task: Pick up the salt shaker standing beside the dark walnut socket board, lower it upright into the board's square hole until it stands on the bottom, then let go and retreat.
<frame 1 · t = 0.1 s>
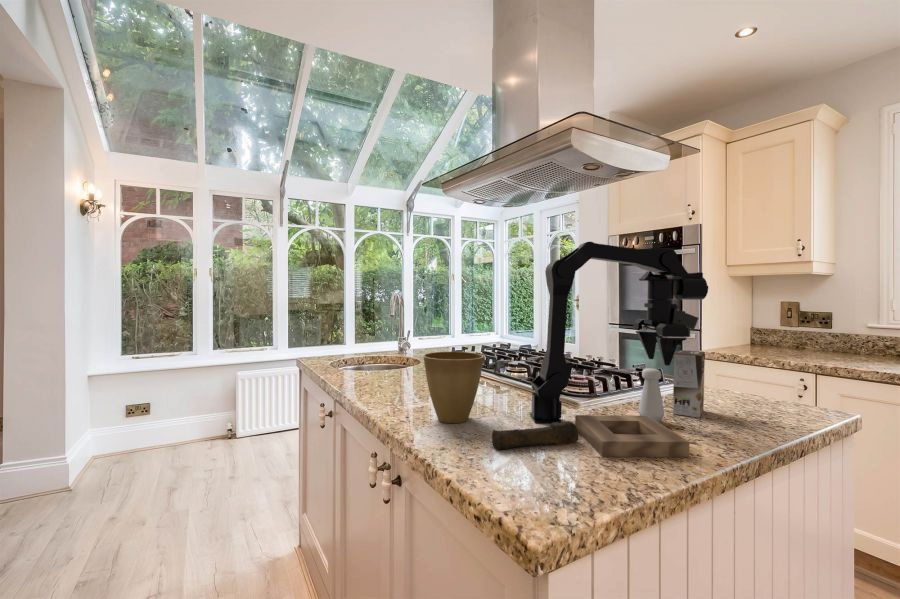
hand: (658, 362, 105), 15 cm above the worktop, fingers open, 9 cm apart
coffee box: (688, 412, 113), on the worktop
salt shaker: (650, 422, 104), on the worktop
dark brown log: (535, 446, 88), on the worktop
socket board: (626, 441, 90), on the worktop
plant pot: (452, 419, 105), on the worktop
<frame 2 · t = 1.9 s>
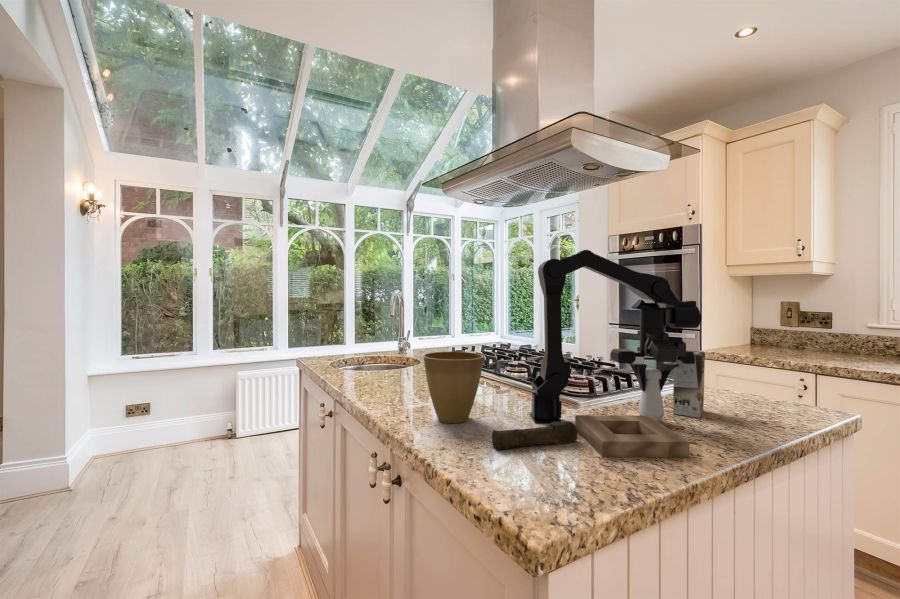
hand: (651, 390, 104), 8 cm above the worktop, fingers closed on salt shaker, 4 cm apart
salt shaker: (650, 421, 104), on the worktop, touching gripper
everything else where it was.
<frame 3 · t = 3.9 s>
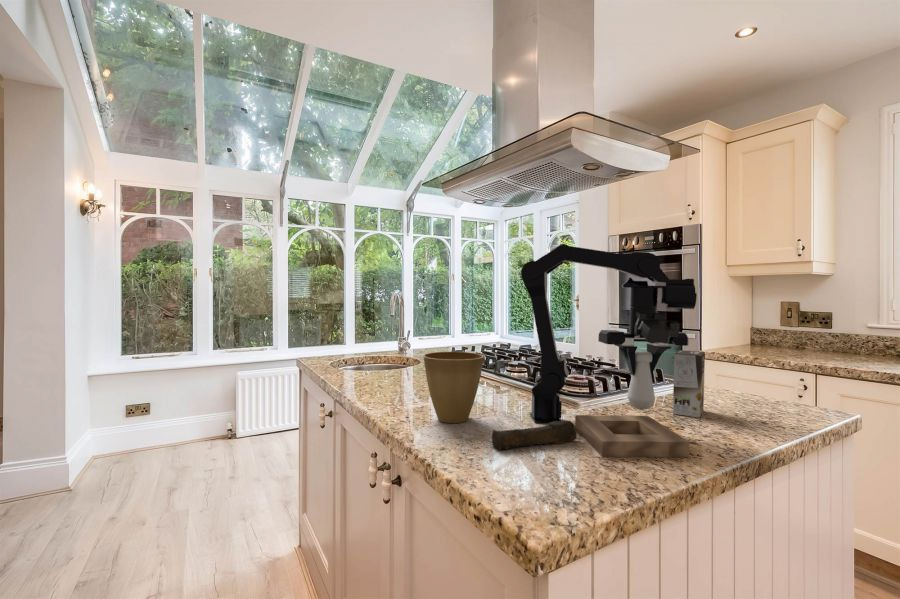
hand: (641, 374, 98), 13 cm above the worktop, fingers closed on salt shaker, 4 cm apart
salt shaker: (640, 407, 98), point 5 cm above the worktop, touching gripper
everything else where it was.
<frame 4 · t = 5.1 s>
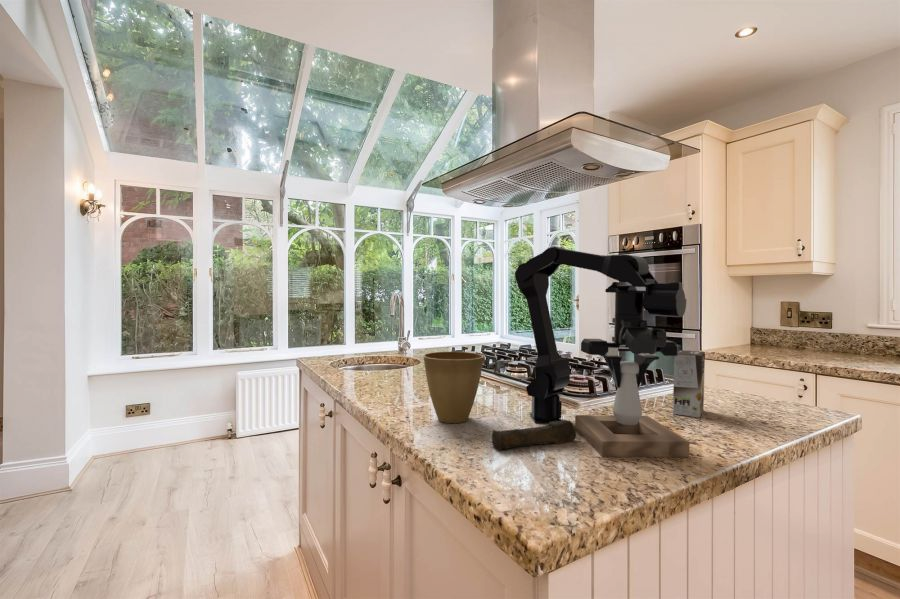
hand: (627, 387, 90), 12 cm above the worktop, fingers closed on salt shaker, 4 cm apart
salt shaker: (626, 423, 90), point 4 cm above the worktop, touching gripper
everything else where it was.
when the fingers open (8 cm above the worktop, at t = 6.0 s): salt shaker stays where it is, resting in socket board.
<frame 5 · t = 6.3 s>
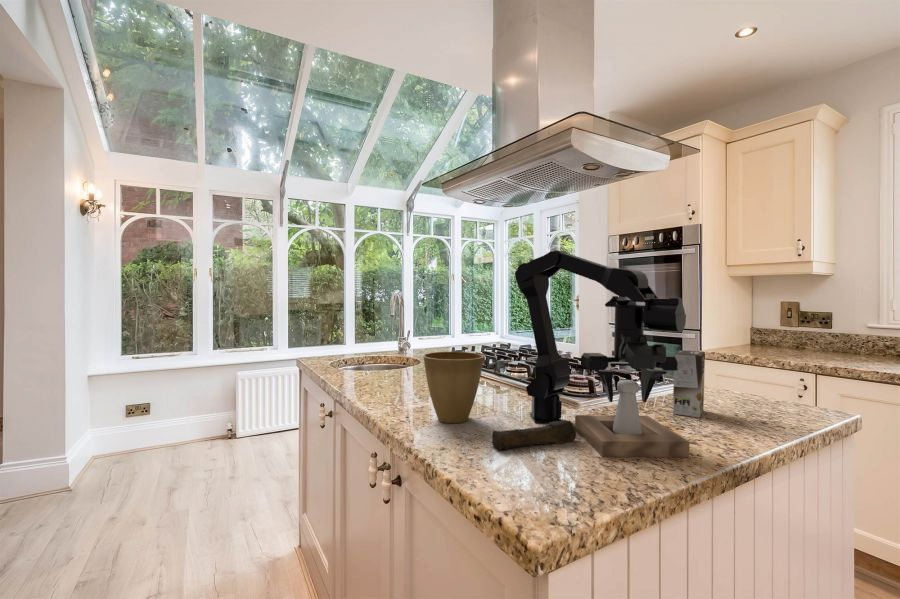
hand: (627, 401, 90), 8 cm above the worktop, fingers open, 7 cm apart
salt shaker: (626, 442, 90), resting in socket board
everything else where it was.
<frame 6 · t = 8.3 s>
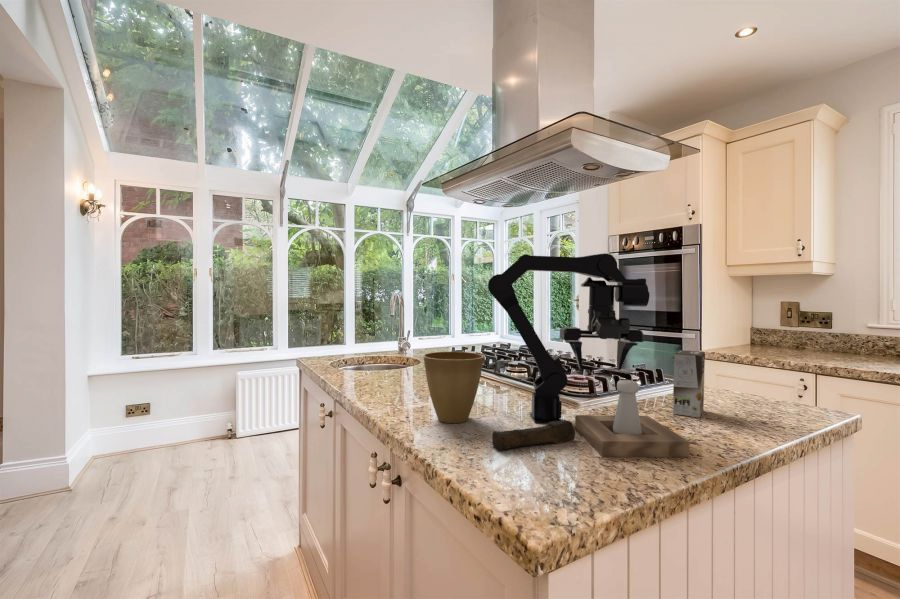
hand: (599, 369, 103), 13 cm above the worktop, fingers open, 9 cm apart
nothing on the worktop moved.
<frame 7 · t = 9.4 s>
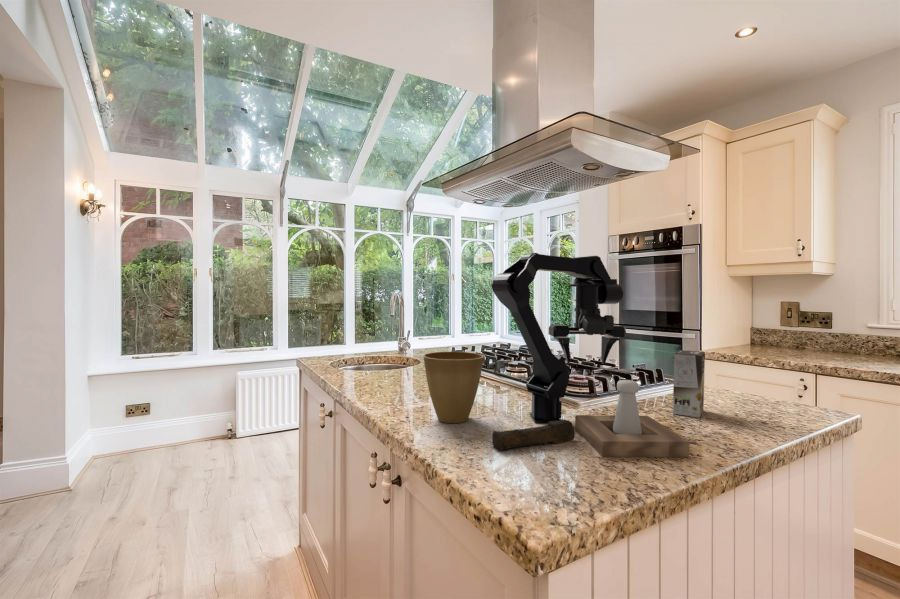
hand: (585, 363, 111), 13 cm above the worktop, fingers open, 9 cm apart
nothing on the worktop moved.
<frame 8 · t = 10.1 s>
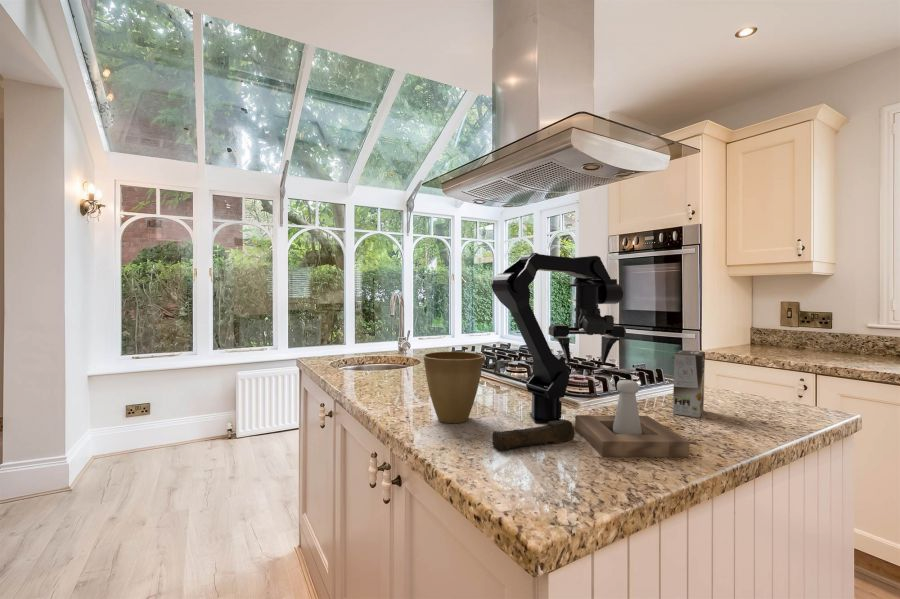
hand: (585, 363, 111), 13 cm above the worktop, fingers open, 9 cm apart
nothing on the worktop moved.
at the end: salt shaker 0.0 cm off-centre on the socket board, point 0.0 cm above the socket board's base; salt shaker tilted 0°; the gripper is holding nothing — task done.
